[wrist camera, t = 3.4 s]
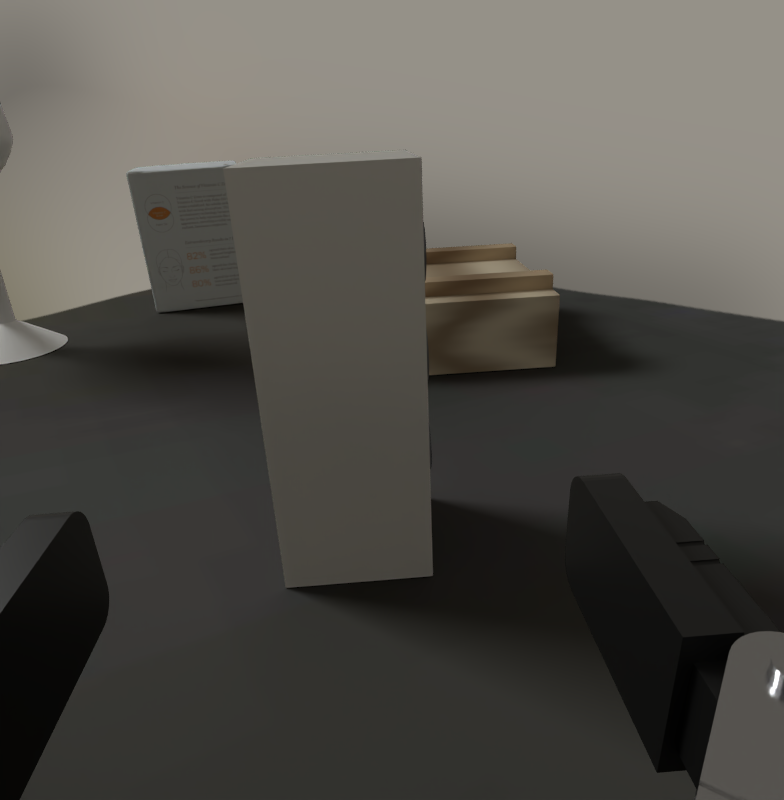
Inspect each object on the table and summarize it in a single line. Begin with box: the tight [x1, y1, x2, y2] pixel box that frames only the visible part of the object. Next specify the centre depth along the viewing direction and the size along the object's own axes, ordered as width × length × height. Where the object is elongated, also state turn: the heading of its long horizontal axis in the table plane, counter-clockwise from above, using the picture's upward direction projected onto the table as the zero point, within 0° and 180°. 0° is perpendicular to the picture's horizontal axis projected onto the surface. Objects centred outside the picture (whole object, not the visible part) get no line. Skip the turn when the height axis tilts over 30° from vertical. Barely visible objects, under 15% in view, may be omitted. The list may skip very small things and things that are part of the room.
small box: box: [126, 161, 243, 313], centre depth 50 cm, size 8×6×10 cm
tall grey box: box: [223, 150, 433, 588], centre depth 19 cm, size 5×4×12 cm
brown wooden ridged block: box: [425, 243, 560, 375], centre depth 39 cm, size 10×12×5 cm
